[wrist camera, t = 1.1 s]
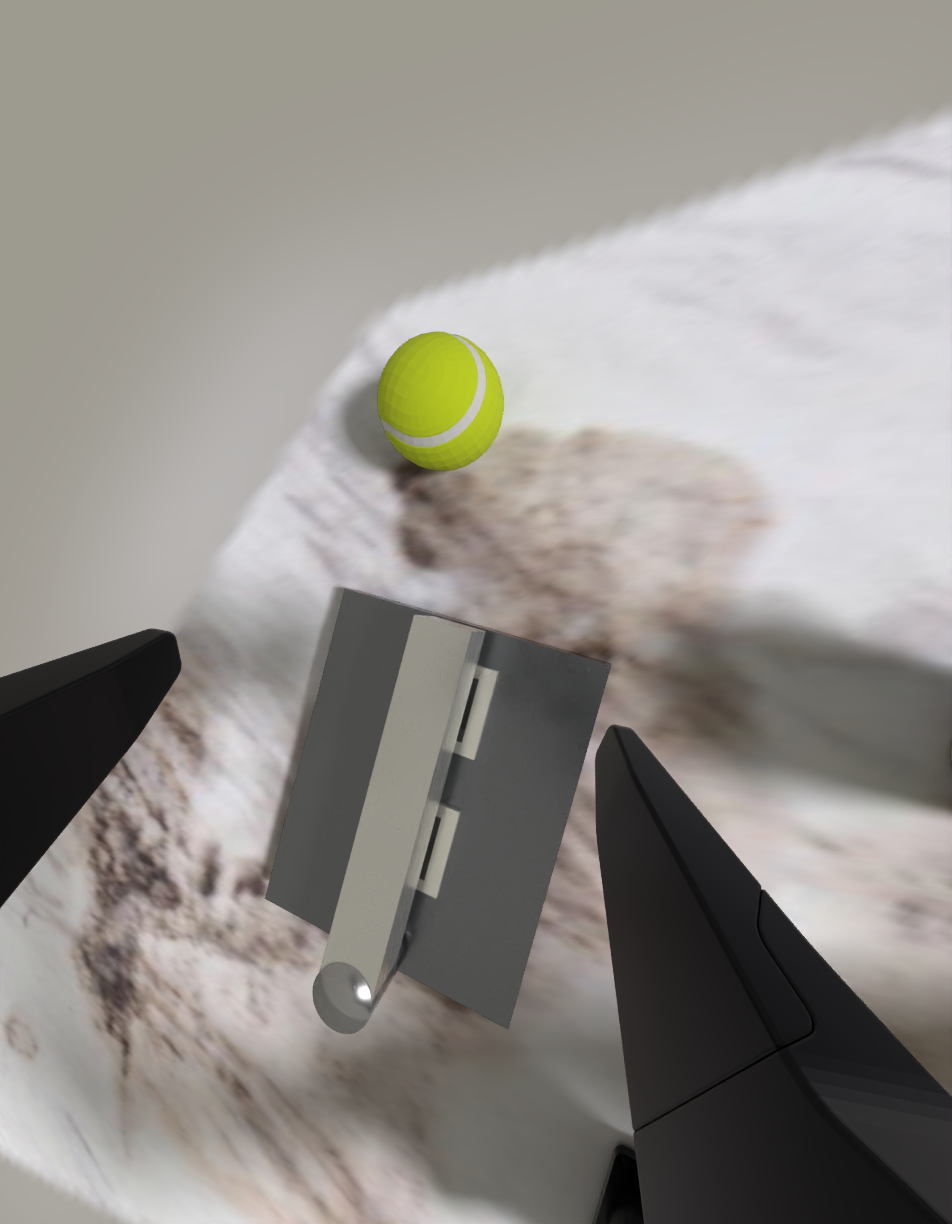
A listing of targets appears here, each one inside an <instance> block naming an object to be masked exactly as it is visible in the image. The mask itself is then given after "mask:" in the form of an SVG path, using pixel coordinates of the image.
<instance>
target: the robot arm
mask: <svg viewBox="0 0 952 1224" xmlns="http://www.w3.org/2000/svg"><path fill="white" fill-rule="evenodd" d="M180 671H181V659H180V654H179V649H178V644H177V640H176V637H175V635H174V634H173V633H171V632H168V631H164V630H159V629H147V630H144V631H141V632H138V633H135V634H132V635H128V636H126V637H123V638H119V639H116V640H113V641H110V642H107V643H104V644H101V645H98V646H95V647H92V648H89V649H86V650H83V651H80V652H77V653H74V654H71V655H68V656H65V657H62V658H59V659H56V660H52V661H49V662H46V663H43V664H40V665H37V666H34V667H31V668H28V669H25V670H22V671H19V672H16V673H13V674H10V675H7V676H4V677H1V678H0V908H1V907H2V905H3V904H4V903H5V902H6V901H7V899H8V898H9V897H10V896H11V894H12V893H13V892H14V891H15V889H16V888H17V887H18V886H19V884H20V883H21V882H22V881H23V880H24V878H25V877H26V876H27V875H28V873H29V872H30V871H31V870H32V868H33V867H34V866H35V865H36V863H37V862H38V861H39V860H40V858H41V857H42V856H43V855H44V854H45V852H46V851H47V850H48V849H49V847H50V846H51V845H52V844H53V842H54V841H55V840H56V839H57V837H58V836H59V835H60V834H61V832H62V831H63V830H64V829H65V828H66V826H67V825H68V824H69V823H70V821H71V820H72V819H73V818H74V816H75V815H76V814H77V813H78V811H79V810H80V809H81V808H82V807H83V805H84V804H85V803H86V802H87V800H88V799H89V798H90V797H91V795H92V794H93V793H94V792H95V790H96V789H97V788H98V787H99V785H100V784H101V783H102V782H103V781H104V779H105V778H106V777H107V776H108V774H109V773H110V772H111V771H112V769H113V768H114V767H115V766H116V764H117V763H118V762H119V761H120V760H121V758H122V757H123V756H124V755H125V753H126V752H127V751H128V750H129V748H130V747H131V746H132V744H133V743H134V742H135V740H136V739H137V738H138V736H139V735H140V733H141V732H142V731H143V729H144V728H145V726H146V725H147V723H148V722H149V720H150V719H151V717H152V715H153V714H154V712H155V711H156V709H157V708H158V706H159V705H160V703H161V702H162V700H163V699H164V697H165V695H166V694H167V692H168V691H169V689H170V688H171V686H172V685H173V683H174V682H175V680H176V679H177V677H178V675H179V673H180ZM595 789H596V835H597V845H598V853H599V861H600V869H601V877H602V885H603V893H604V901H605V909H606V917H607V925H608V933H609V941H610V949H611V957H612V965H613V973H614V981H615V989H616V997H617V1005H618V1013H619V1021H620V1029H621V1037H622V1045H623V1053H624V1061H625V1069H626V1077H627V1085H628V1093H629V1101H630V1109H631V1117H632V1125H633V1129H634V1131H635V1132H634V1134H633V1136H634V1144H635V1151H633V1150H632V1149H630V1148H628V1147H626V1146H624V1145H619V1146H617V1147H616V1148H615V1150H614V1153H613V1157H612V1160H611V1163H610V1167H609V1170H608V1173H607V1177H606V1180H605V1184H604V1187H603V1190H602V1194H601V1197H600V1200H599V1204H598V1207H597V1211H596V1214H595V1217H594V1221H593V1224H952V1096H951V1095H950V1094H949V1093H948V1092H947V1091H946V1090H945V1089H944V1088H943V1087H942V1086H941V1085H940V1084H939V1083H938V1082H937V1081H936V1080H935V1079H934V1078H933V1077H932V1076H931V1075H930V1074H929V1072H928V1071H927V1070H926V1069H925V1068H924V1067H923V1066H922V1065H921V1064H920V1063H919V1062H918V1061H917V1060H916V1058H915V1057H914V1056H913V1055H912V1054H911V1053H910V1052H909V1051H908V1050H907V1049H906V1048H905V1047H904V1046H903V1044H902V1043H901V1042H900V1041H899V1040H898V1039H897V1038H896V1037H895V1036H894V1035H893V1034H892V1033H891V1031H890V1030H889V1029H888V1028H887V1027H886V1026H885V1025H884V1024H883V1023H882V1022H881V1021H880V1020H879V1019H878V1017H877V1016H876V1015H875V1014H874V1013H873V1012H872V1011H871V1010H870V1009H869V1008H868V1007H867V1006H866V1005H865V1003H864V1002H863V1001H862V1000H861V999H860V998H859V997H858V996H857V995H856V994H855V993H854V992H853V991H852V989H851V988H850V987H849V986H848V985H847V984H846V983H845V982H844V981H843V980H842V979H841V977H840V976H839V975H838V974H837V973H836V972H835V971H834V970H833V969H832V967H831V966H830V965H829V964H828V963H827V962H826V961H825V960H824V959H823V958H822V956H821V955H820V954H819V953H818V952H817V951H816V950H815V949H814V948H813V946H812V945H811V944H810V943H809V942H808V941H807V939H806V938H805V937H804V936H803V935H802V934H801V932H800V931H799V930H798V929H797V928H796V927H795V925H794V924H793V923H792V922H791V921H790V919H789V918H788V917H787V916H786V915H785V914H784V912H783V911H782V910H781V909H780V908H779V906H778V905H777V904H776V903H775V902H774V900H773V899H772V898H771V897H770V895H769V894H768V893H767V892H766V891H765V890H763V889H761V885H760V884H759V882H758V881H757V880H756V879H755V878H754V876H753V875H752V874H751V873H750V871H749V870H748V869H747V868H746V867H745V865H744V864H743V863H742V862H741V861H740V859H739V858H738V857H737V856H736V854H735V853H734V852H733V851H732V850H731V848H730V847H729V846H728V845H727V844H726V842H725V841H724V840H723V839H722V837H721V836H720V835H719V834H718V833H717V831H716V830H715V829H714V828H713V827H712V825H711V824H710V823H709V822H708V820H707V819H706V818H705V817H704V816H703V814H702V813H701V812H700V811H699V810H698V808H697V807H696V806H695V805H694V803H693V802H692V801H691V800H690V799H689V797H688V796H687V795H686V794H685V793H684V791H683V790H682V789H681V788H680V786H679V785H678V784H677V783H676V782H675V780H674V779H673V778H672V777H671V776H670V774H669V773H668V772H667V771H666V769H665V768H664V767H663V766H662V765H661V763H660V762H659V761H658V760H657V759H656V757H655V756H654V755H653V754H652V752H651V751H650V750H649V749H648V748H647V746H646V745H645V744H644V743H643V742H642V740H641V739H640V738H639V737H638V735H637V734H636V733H635V732H634V731H633V730H632V729H631V728H628V727H624V726H619V725H611V726H610V727H609V728H608V730H607V732H606V734H605V736H604V738H603V740H602V742H601V744H600V746H599V748H598V750H597V753H596V758H595ZM622 1159H625V1160H627V1161H624V1160H622Z"/></svg>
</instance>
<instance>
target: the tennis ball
mask: <svg viewBox="0 0 952 1224" xmlns="http://www.w3.org/2000/svg"><path fill="white" fill-rule="evenodd" d="M377 402H378V413H379V417H380V419H381V421H382V424H383V427H384V429H385V433H386V435H387V437H388V439H389V440H390V442H391V443H392V444H393V446H394V447H395V449H396V450H398V451H399V452H400V453H401V454H402V455H403V456H404V457H405V458H407V459H408V460H410V461H412V462H413V463H415V464H417V465H418V466H421V467H424V468H427V469H431V470H441V471H447V470H455V469H458V468H462V467H465V466H467V465H468V464H470V463H472V462H474V461H475V460H477V459H478V458H479V457H480V456H482V455H483V454H484V453H485V452H486V451H487V449H488V448H489V447H490V446H491V444H492V443H493V441H494V439H495V438H496V436H497V434H498V431H499V429H500V426H501V421H502V416H503V411H504V396H503V391H502V386H501V381H500V378H499V375H498V373H497V371H496V369H495V367H494V365H493V364H492V362H491V361H490V359H489V358H488V357H487V355H486V354H485V352H483V351H482V350H481V349H480V348H479V347H478V346H476V345H475V344H474V343H472V342H471V341H470V340H468V339H467V338H464V337H462V336H459V335H455V334H448V333H445V332H430V333H425V334H420V335H418V336H416V337H414V338H411V339H409V340H408V341H407V342H405V343H404V344H403V345H401V346H400V347H399V348H398V349H397V350H396V351H395V353H394V354H393V355H392V356H391V357H390V359H389V360H388V362H387V364H386V366H385V368H384V370H383V372H382V375H381V378H380V381H379V386H378V395H377Z"/></svg>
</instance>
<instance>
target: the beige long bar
mask: <svg viewBox="0 0 952 1224" xmlns="http://www.w3.org/2000/svg"><path fill="white" fill-rule="evenodd" d="M485 633H486V631H483V630H480V629H476V628H473V627H469V626H466V625H462V624H459V623H456V622H452V621H449V620H445V619H442V618H438V617H435V616H424V615H414V617H413V621H412V624H411V628H410V632H409V636H408V640H407V643H406V647H405V651H404V655H403V658H402V662H401V666H400V670H399V674H398V677H397V681H396V685H395V689H394V693H393V696H392V700H391V704H390V708H389V711H388V715H387V719H386V723H385V727H384V730H383V734H382V738H381V742H380V745H379V749H378V753H377V757H376V761H375V764H374V768H373V772H372V776H371V779H370V783H369V787H368V791H367V795H366V798H365V802H364V806H363V810H362V813H361V817H360V821H359V825H358V829H357V832H356V836H355V840H354V844H353V847H352V851H351V855H350V859H349V863H348V866H347V870H346V874H345V878H344V882H343V885H342V889H341V893H340V897H339V900H338V904H337V908H336V912H335V916H334V919H333V923H332V927H331V931H330V934H329V938H328V942H327V946H326V950H325V953H324V957H323V961H322V965H321V968H320V972H319V974H318V975H317V977H316V979H315V981H314V985H313V1001H314V1005H315V1008H316V1010H317V1012H318V1014H319V1016H320V1018H321V1019H322V1020H323V1021H324V1023H325V1024H326V1025H327V1026H329V1027H330V1028H331V1029H333V1030H335V1031H336V1032H339V1033H343V1034H352V1033H355V1032H357V1031H359V1030H361V1029H362V1028H363V1027H364V1026H365V1024H366V1023H367V1021H368V1019H369V1018H370V1016H371V1014H372V1013H373V1011H374V1009H375V1008H376V1006H377V1004H378V1003H379V1001H380V999H381V998H382V996H383V994H384V992H385V991H386V989H387V987H388V986H389V984H390V982H391V981H392V979H393V977H394V975H395V972H396V961H397V957H398V954H399V950H400V946H401V943H402V939H403V935H404V932H405V928H406V924H407V921H408V917H409V913H410V910H411V906H412V902H413V898H414V895H415V891H416V887H417V884H418V880H419V876H420V873H421V869H422V865H423V862H424V858H425V854H426V851H427V847H428V843H429V839H430V836H431V832H432V828H433V825H434V821H435V817H436V814H437V810H438V806H439V803H440V799H441V795H442V792H443V788H444V784H445V780H446V777H447V773H448V769H449V766H450V762H451V758H452V755H453V751H454V747H455V744H456V740H457V736H458V733H459V729H460V725H461V721H462V718H463V714H464V710H465V707H466V703H467V699H468V696H469V692H470V688H471V685H472V681H473V677H474V674H475V670H476V666H477V663H478V659H479V655H480V651H481V648H482V644H483V640H484V637H485Z"/></svg>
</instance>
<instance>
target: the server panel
mask: <svg viewBox="0 0 952 1224" xmlns="http://www.w3.org/2000/svg"><path fill="white" fill-rule="evenodd" d="M414 615H424V616H435V617H438V618H442V619H445V620H449V621H452V622H456V623H459V624H462V625H466V626H469V627H473V628H476V629H480V630H483V631H486V633H485V637H484V640H483V644H482V648H481V651H480V655H479V659H478V663H477V666H476V670H475V674H474V677H473V681H472V685H471V688H470V692H469V696H468V699H467V703H466V707H465V710H464V714H463V718H462V721H461V725H460V729H459V733H458V736H457V740H456V744H455V747H454V751H453V755H452V758H451V762H450V766H449V769H448V773H447V777H446V780H445V784H444V788H443V792H442V795H441V799H440V803H439V806H438V810H437V814H436V817H435V821H434V825H433V828H432V832H431V836H430V839H429V843H428V847H427V851H426V854H425V858H424V862H423V865H422V869H421V873H420V876H419V880H418V884H417V887H416V891H415V895H414V898H413V902H412V906H411V910H410V913H409V917H408V921H407V924H406V928H405V932H404V935H403V939H402V943H401V946H400V950H399V954H398V957H397V961H396V972H397V971H398V970H399V971H400V972H402V973H404V974H406V975H408V976H410V977H412V978H413V979H415V980H417V981H419V982H421V983H423V984H425V985H426V986H428V987H430V988H432V989H434V990H436V991H438V992H439V993H441V994H443V995H445V996H447V997H449V998H451V999H452V1000H454V1001H456V1002H458V1003H460V1004H462V1005H464V1006H465V1007H467V1008H469V1009H471V1010H473V1011H475V1012H477V1013H478V1014H480V1015H482V1016H484V1017H486V1018H488V1019H490V1020H492V1021H493V1022H495V1023H497V1024H499V1025H501V1026H503V1027H505V1028H506V1029H508V1028H509V1024H510V1020H511V1017H512V1013H513V1010H514V1006H515V1003H516V999H517V996H518V992H519V989H520V985H521V982H522V978H523V975H524V971H525V967H526V964H527V960H528V957H529V953H530V950H531V946H532V943H533V939H534V936H535V932H536V929H537V925H538V922H539V918H540V914H541V911H542V907H543V904H544V900H545V897H546V893H547V890H548V886H549V883H550V879H551V876H552V872H553V869H554V865H555V861H556V858H557V854H558V851H559V847H560V844H561V840H562V837H563V833H564V830H565V826H566V823H567V819H568V816H569V812H570V808H571V805H572V801H573V798H574V794H575V791H576V787H577V784H578V780H579V777H580V773H581V770H582V766H583V763H584V759H585V755H586V752H587V748H588V745H589V741H590V738H591V734H592V731H593V727H594V724H595V720H596V717H597V713H598V710H599V706H600V702H601V699H602V695H603V692H604V688H605V685H606V681H607V678H608V674H609V671H610V667H611V664H610V663H607V662H603V661H600V660H596V659H593V658H589V657H586V656H582V655H579V654H576V653H572V652H569V651H565V650H562V649H558V648H555V647H551V646H548V645H544V644H541V643H537V642H534V641H531V640H527V639H524V638H520V637H517V636H513V635H510V634H506V633H503V632H499V631H496V630H493V629H489V628H486V627H482V626H479V625H475V624H472V623H468V622H465V621H461V620H458V619H455V618H451V617H448V616H444V615H441V614H437V613H434V612H430V611H427V610H423V609H420V608H417V607H413V606H410V605H406V604H403V603H399V602H396V601H392V600H389V599H385V598H382V597H379V596H375V595H372V594H368V593H365V592H361V591H358V590H351V589H345V590H344V594H343V598H342V602H341V606H340V610H339V614H338V618H337V621H336V625H335V629H334V633H333V637H332V641H331V645H330V649H329V653H328V656H327V660H326V664H325V668H324V672H323V676H322V680H321V684H320V687H319V691H318V695H317V699H316V703H315V707H314V711H313V715H312V718H311V722H310V726H309V730H308V734H307V738H306V742H305V746H304V749H303V753H302V757H301V761H300V765H299V769H298V773H297V777H296V780H295V784H294V788H293V792H292V796H291V800H290V804H289V808H288V811H287V815H286V819H285V823H284V827H283V831H282V835H281V839H280V842H279V846H278V850H277V854H276V858H275V862H274V866H273V870H272V873H271V877H270V881H269V885H268V889H267V893H266V897H265V899H267V900H268V901H270V902H272V903H274V904H276V905H278V906H280V907H281V908H283V909H285V910H287V911H289V912H291V913H293V914H294V915H296V916H298V917H300V918H302V919H304V920H306V921H307V922H309V923H311V924H313V925H315V926H317V927H319V928H320V929H322V930H324V931H326V932H328V933H330V931H331V927H332V923H333V919H334V916H335V912H336V908H337V904H338V900H339V897H340V893H341V889H342V885H343V882H344V878H345V874H346V870H347V866H348V863H349V859H350V855H351V851H352V847H353V844H354V840H355V836H356V832H357V829H358V825H359V821H360V817H361V813H362V810H363V806H364V802H365V798H366V795H367V791H368V787H369V783H370V779H371V776H372V772H373V768H374V764H375V761H376V757H377V753H378V749H379V745H380V742H381V738H382V734H383V730H384V727H385V723H386V719H387V715H388V711H389V708H390V704H391V700H392V696H393V693H394V689H395V685H396V681H397V677H398V674H399V670H400V666H401V662H402V658H403V655H404V651H405V647H406V643H407V640H408V636H409V632H410V628H411V624H412V621H413V617H414ZM396 972H395V974H396Z"/></svg>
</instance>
